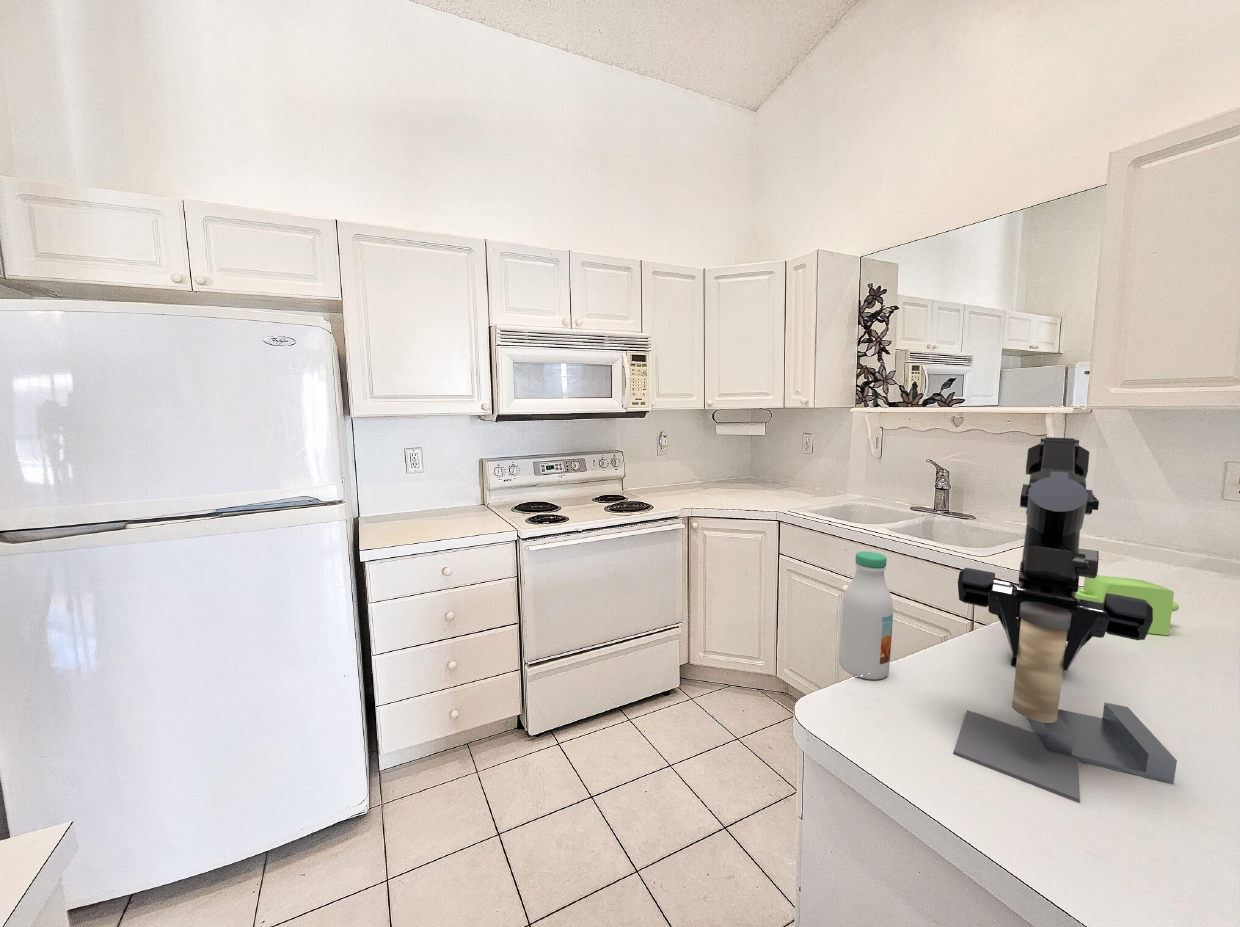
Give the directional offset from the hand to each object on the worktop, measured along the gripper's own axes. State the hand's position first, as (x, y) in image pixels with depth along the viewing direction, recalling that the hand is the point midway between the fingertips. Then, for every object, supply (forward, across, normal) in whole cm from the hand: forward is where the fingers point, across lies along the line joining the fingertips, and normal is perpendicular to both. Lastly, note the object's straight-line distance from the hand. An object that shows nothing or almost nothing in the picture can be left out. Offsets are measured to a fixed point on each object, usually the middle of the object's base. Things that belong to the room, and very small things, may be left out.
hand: (1039, 662), depth 62 cm
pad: (+8, -1, +10) cm, 13 cm away
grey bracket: (+2, +6, +17) cm, 18 cm away
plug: (+4, 0, +6) cm, 7 cm away
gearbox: (-38, +14, +59) cm, 72 cm away
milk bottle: (+2, -22, +17) cm, 28 cm away
